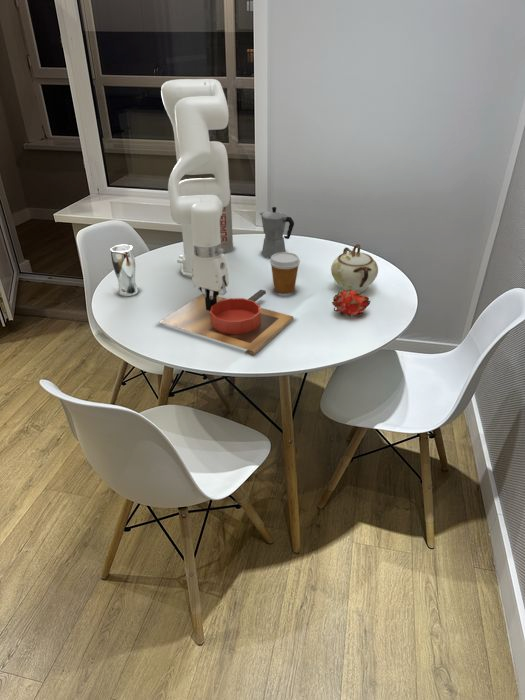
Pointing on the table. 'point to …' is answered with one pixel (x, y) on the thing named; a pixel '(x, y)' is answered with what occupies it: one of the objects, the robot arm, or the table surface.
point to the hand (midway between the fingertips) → (211, 308)
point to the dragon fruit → (350, 302)
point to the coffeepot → (275, 232)
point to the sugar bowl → (354, 270)
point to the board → (199, 322)
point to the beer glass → (124, 269)
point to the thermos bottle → (226, 227)
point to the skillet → (236, 314)
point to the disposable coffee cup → (284, 271)
